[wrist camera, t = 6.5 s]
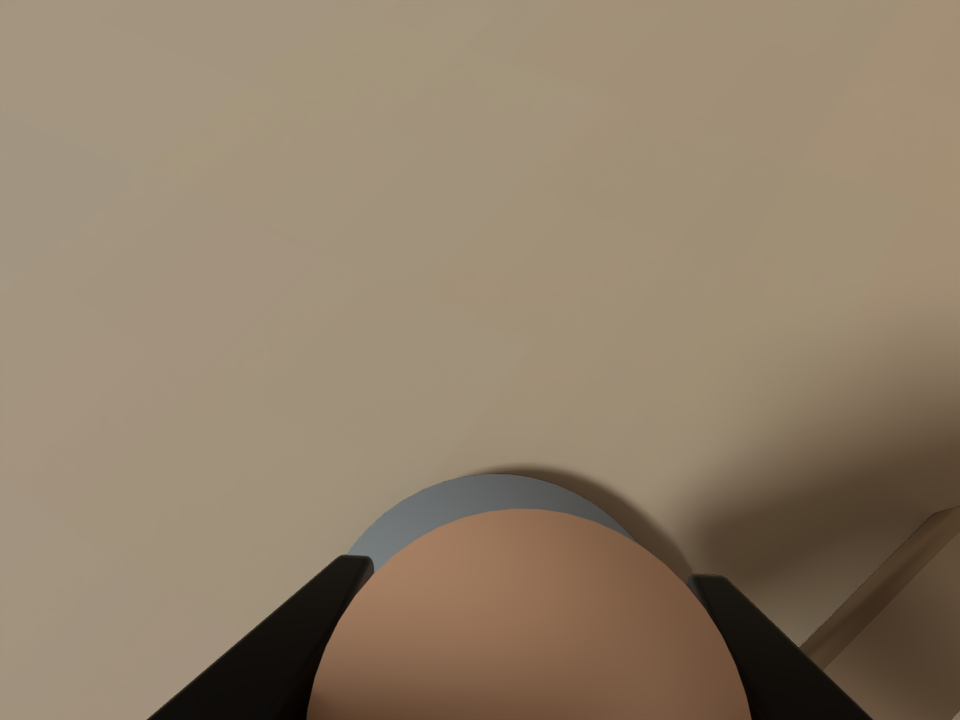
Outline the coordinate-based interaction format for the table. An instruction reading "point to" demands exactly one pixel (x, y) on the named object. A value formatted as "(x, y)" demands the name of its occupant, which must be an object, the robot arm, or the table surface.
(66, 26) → the table surface
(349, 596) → the robot arm
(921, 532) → the pocket block
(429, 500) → the slate mat
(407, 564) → the post
